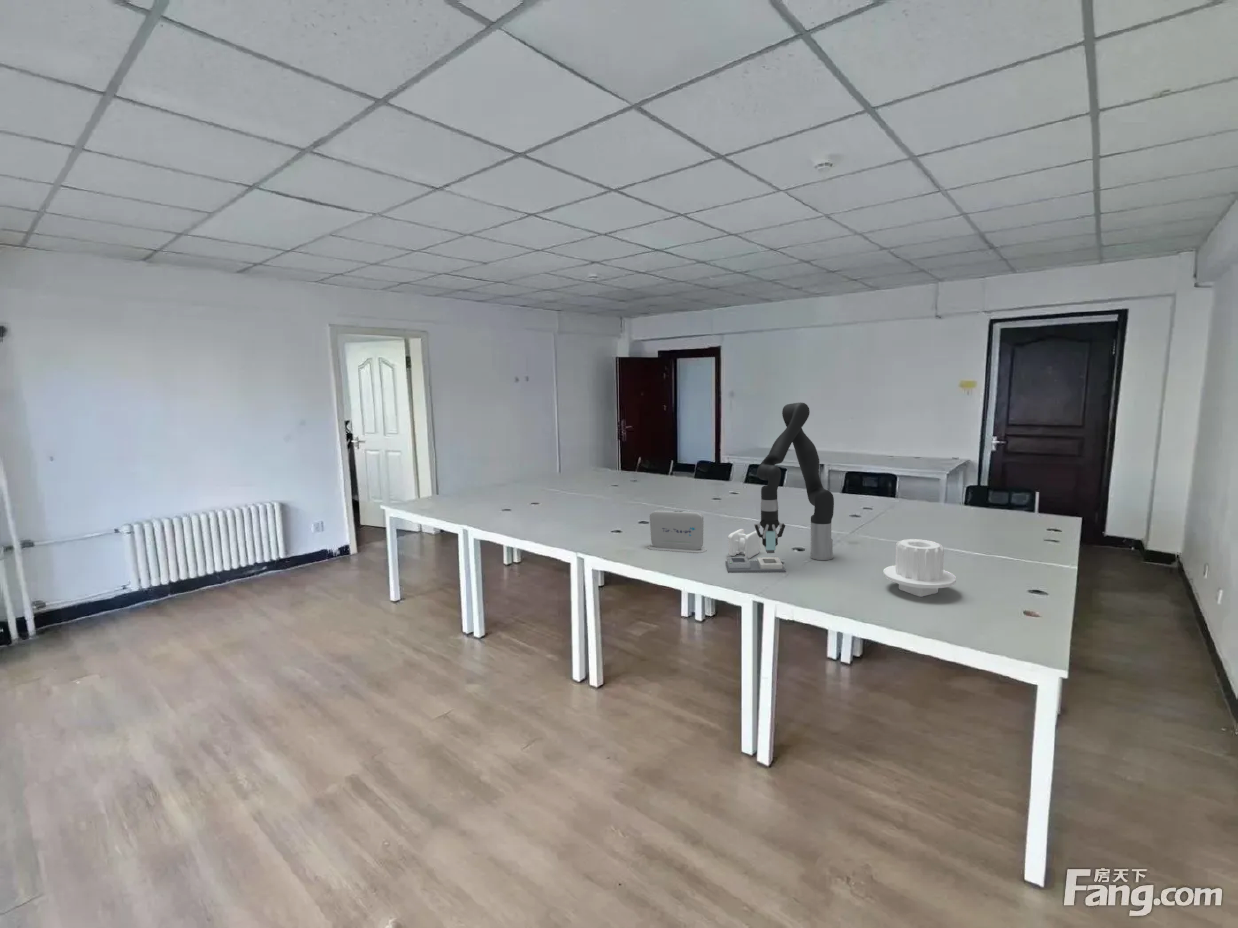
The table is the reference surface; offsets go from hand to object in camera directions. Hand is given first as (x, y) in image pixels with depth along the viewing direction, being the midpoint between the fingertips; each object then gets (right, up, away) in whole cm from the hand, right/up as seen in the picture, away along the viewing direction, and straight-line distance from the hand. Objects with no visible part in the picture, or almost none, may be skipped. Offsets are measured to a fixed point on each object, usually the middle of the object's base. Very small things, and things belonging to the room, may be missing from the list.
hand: (769, 545), depth 256 cm
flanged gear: (+49, -13, -35) cm, 61 cm away
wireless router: (-38, -7, +37) cm, 54 cm away
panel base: (-6, -10, +2) cm, 12 cm away
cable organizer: (-7, -8, +22) cm, 24 cm away
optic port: (-14, -10, +3) cm, 17 cm away
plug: (0, -3, 0) cm, 3 cm away
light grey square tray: (0, -10, +1) cm, 10 cm away
